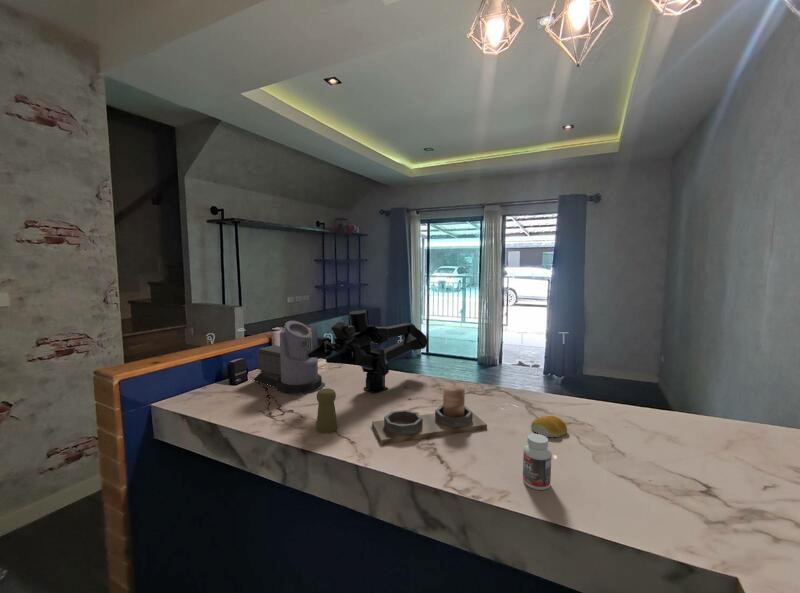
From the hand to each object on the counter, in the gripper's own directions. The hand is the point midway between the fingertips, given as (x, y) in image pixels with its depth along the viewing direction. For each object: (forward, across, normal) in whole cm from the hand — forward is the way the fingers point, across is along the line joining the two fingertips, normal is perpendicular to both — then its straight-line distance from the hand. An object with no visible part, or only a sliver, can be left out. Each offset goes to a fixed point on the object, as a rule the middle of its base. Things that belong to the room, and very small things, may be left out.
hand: (317, 358), depth 110 cm
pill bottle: (-5, +65, +18) cm, 67 cm away
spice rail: (-11, +33, +18) cm, 39 cm away
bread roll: (-30, +59, +21) cm, 69 cm away
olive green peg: (+8, +12, +16) cm, 21 cm away
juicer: (-6, -30, +18) cm, 35 cm away
